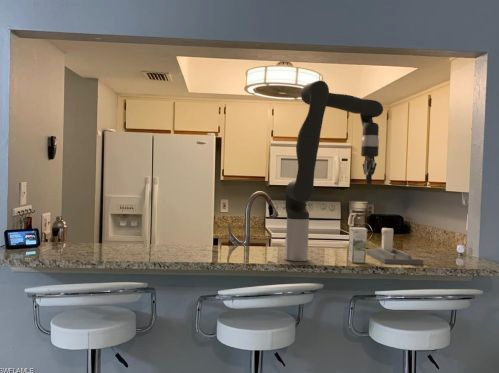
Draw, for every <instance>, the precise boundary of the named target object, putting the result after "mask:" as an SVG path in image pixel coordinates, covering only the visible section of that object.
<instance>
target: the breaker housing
mask: <svg viewBox="0 0 499 373" xmlns="http://www.w3.org/2000/svg"><path fill="white" fill-rule="evenodd" d="M366 255H367V256H370V257H371V258H372V259H375V260H377V261H379V262H380V263H382V264H384V265H414V266H415V265H416V266H423V264H424V260H423V259H421V258H419V257H416V256H414V255H411V254H409V253H407V252H404V251H402V250H400V249H396V248H394V247H393V249H392V252H388V251H386V250H384V249H382V247H377V246H376V249H366Z"/></svg>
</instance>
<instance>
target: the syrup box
mask: <svg viewBox="0 0 499 373" xmlns="http://www.w3.org/2000/svg"><path fill="white" fill-rule="evenodd" d="M348 231H349V232H348V234H349V236H348V237H349V238H348V255H347V256H348V258H347V260H348V262H350V263H352V264H366V260H367V259H366V255H367V254H366V250H367V238H368V237H367V234H368V229H367V228H366V227H360V226H355V227H354V226H350V227H349V230H348Z"/></svg>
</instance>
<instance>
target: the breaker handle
mask: <svg viewBox="0 0 499 373" xmlns="http://www.w3.org/2000/svg"><path fill="white" fill-rule="evenodd" d="M393 242H394V228H393V227H392V228H390V227H389V228H388V227H382V228H381V248H382V249H384V250H386V251H388V252H392V249H393V248H394V247H393V246H394V244H393Z"/></svg>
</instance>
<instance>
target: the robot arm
mask: <svg viewBox="0 0 499 373" xmlns="http://www.w3.org/2000/svg"><path fill="white" fill-rule="evenodd" d="M329 89H330V88H329V86H328V84H327V82H326V81H324V80H316V81H312V82H310V83H307V84H305V85H303V87H302V89H301V90H300V98H301V100H302V101H303V103H304V104H306V105H309V106H308V112H307V114H306V117H305V119H304V121H303V123H302V124H301V125H300V126H301V127H300V129H299V131H298V133H297V138H296V147H295V150H296V151H295V152H296V158H297V174H296V179H295V180H292V181H290V182H289V183H288V184H287V186H286V189H285V211H286V231H285V232H286V233H285V234H286V235H285V242H284V244H285V245H284V247H285V248H284V259H285V260H286V261H291V262H307V261H308V260H309V259H308V256H309V254H308V253H309V232H310V230H309V229H310V228H309V227H310V212H309V211H308V210H307V207H306V206H307V204H306V203H307V202H309V201H310V200H311V199H312V197H313V193H314V184H315V183H314V182H315V169H316V164H317V157H318V156H317V155H318V152H319V145H320V140H321V132H322V128H323V126H322V125H323V121H324V115H325V112H326V108H328V107H329V108H331V109H332V108H333V109H336V110H341V111H344V112H348V113H351V114H355V115H359V117H360V121H361V126H362V136H361V137H362V138H361V146H360V147H361V148H360V149H361V152H360V156H361V157H362V158H363V157H364V161H363V163H362V170H363V174H364V175H365V184H367V185H371V184H372V182H373V181H372V180H373V179H372V178H373V177H372V176H373V175H374V174H375V171H376V167H377V165H378V164H377V162H376V160H375V158H377V157H379V149H380V148H379V143H380V140H379V133H380V132H379V127H380V126H379V123H376V122H374V119H373V118H377V117H380V116H381V115H382V114H383V111H384V107H383V104H382V103H381V102H380V101H377V100H374V99H373V100H372V99H366V98H361V97H357V96H354V95H349V94H345V93H334V92H330V90H329Z"/></svg>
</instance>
